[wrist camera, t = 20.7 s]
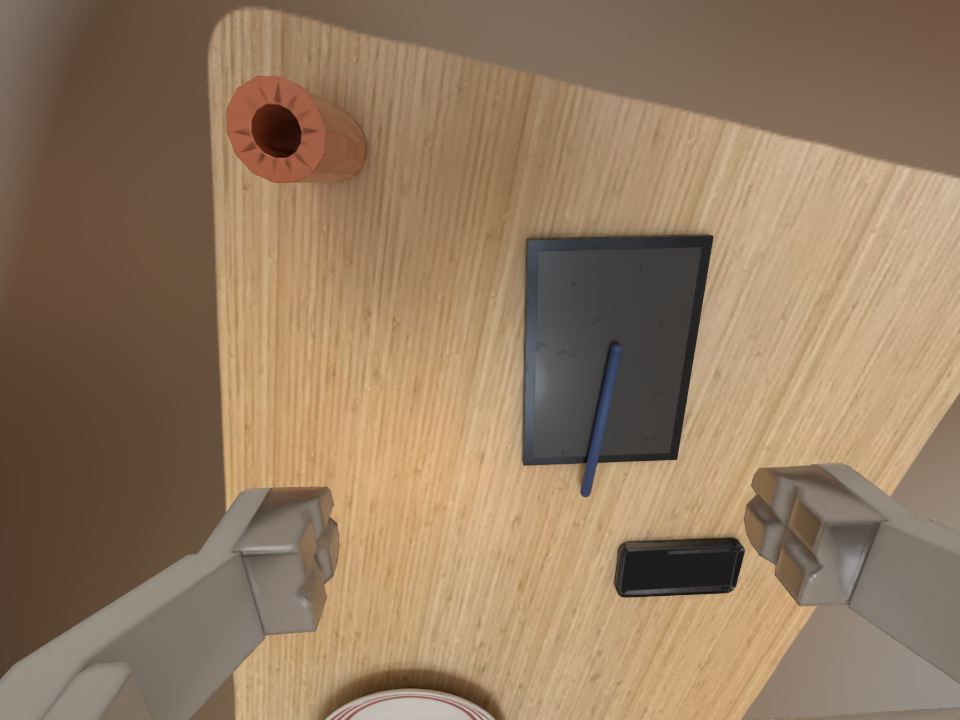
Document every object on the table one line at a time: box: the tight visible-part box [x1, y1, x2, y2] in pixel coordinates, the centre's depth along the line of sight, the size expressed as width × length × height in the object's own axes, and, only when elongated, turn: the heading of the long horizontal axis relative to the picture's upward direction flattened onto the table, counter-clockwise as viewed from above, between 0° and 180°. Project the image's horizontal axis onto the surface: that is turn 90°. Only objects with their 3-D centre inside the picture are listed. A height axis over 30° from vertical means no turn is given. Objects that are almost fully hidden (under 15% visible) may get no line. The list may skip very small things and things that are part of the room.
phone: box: [615, 538, 745, 597], centre depth 57 cm, size 8×1×15 cm
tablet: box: [522, 235, 713, 465], centre depth 46 cm, size 24×17×1 cm
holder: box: [227, 76, 367, 183], centre depth 33 cm, size 6×6×13 cm
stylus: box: [580, 344, 623, 497], centre depth 48 cm, size 1×1×18 cm
